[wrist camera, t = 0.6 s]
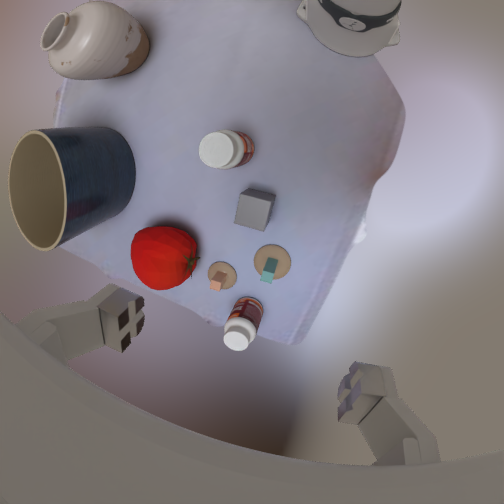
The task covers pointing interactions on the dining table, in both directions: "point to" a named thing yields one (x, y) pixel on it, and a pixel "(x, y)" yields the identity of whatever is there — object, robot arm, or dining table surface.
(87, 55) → the vase
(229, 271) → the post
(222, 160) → the pill bottle
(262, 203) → the charcoal tapered box
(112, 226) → the dining table surface
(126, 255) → the dining table surface
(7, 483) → the robot arm
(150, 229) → the tomato
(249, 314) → the pill bottle
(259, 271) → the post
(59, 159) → the planter
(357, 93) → the dining table surface
